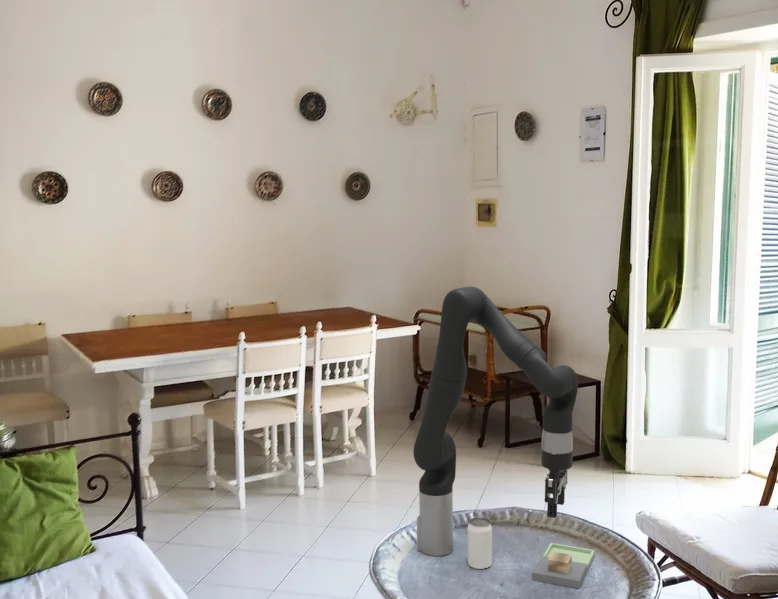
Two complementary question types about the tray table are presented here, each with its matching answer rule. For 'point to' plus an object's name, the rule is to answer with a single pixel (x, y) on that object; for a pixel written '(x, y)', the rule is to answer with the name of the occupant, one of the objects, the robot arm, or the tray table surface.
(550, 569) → the tan square block
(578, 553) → the box
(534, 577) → the plate
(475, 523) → the can
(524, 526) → the tray table surface
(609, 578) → the tray table surface
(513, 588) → the tray table surface
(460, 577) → the tray table surface
